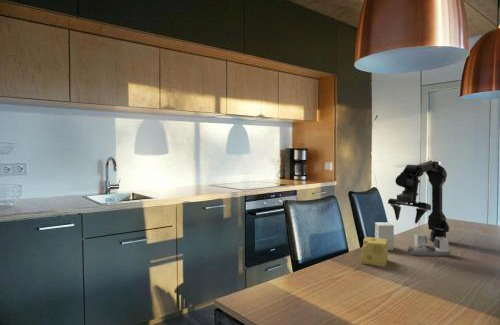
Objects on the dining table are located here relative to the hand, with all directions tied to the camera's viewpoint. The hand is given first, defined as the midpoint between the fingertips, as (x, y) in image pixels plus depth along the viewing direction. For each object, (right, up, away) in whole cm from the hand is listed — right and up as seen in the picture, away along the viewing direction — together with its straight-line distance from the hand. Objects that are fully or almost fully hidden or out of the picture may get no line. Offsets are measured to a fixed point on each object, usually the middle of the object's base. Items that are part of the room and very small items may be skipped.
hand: (406, 221), depth 159 cm
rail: (+10, -15, -1) cm, 19 cm away
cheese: (-19, -16, -11) cm, 27 cm away
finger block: (+13, -15, +13) cm, 24 cm away
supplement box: (-7, -15, +9) cm, 19 cm away
